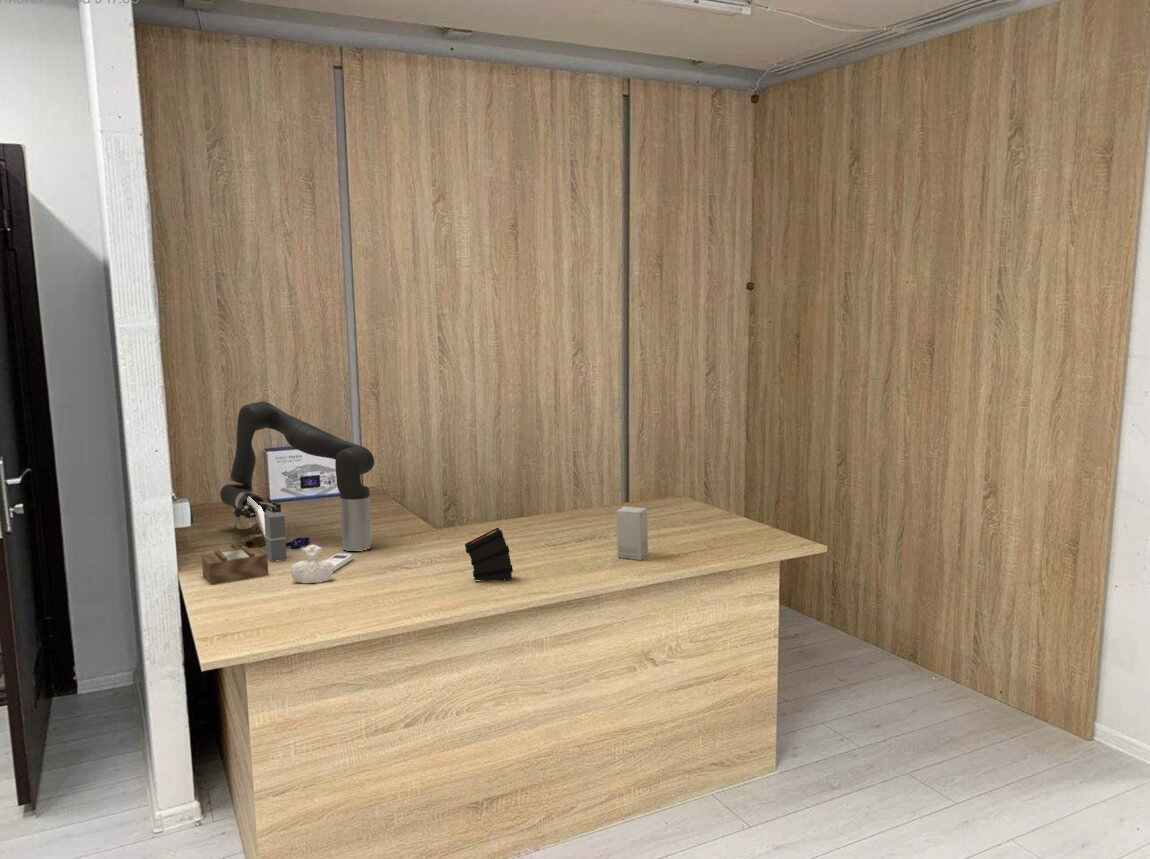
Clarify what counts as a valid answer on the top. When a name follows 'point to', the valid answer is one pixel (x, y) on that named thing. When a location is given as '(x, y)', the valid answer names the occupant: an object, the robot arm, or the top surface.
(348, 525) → the robot arm
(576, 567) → the top surface
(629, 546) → the skincare box
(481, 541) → the magazine
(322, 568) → the tied plastic bag
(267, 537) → the stacked grey cubes
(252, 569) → the stand
